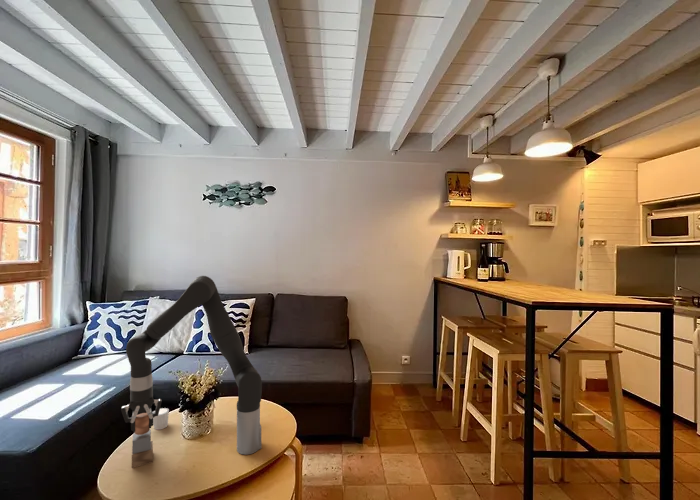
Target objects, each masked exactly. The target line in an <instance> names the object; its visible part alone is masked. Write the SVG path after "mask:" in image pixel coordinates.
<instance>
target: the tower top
mask: <svg viewBox="0 0 700 500" xmlns="http://www.w3.org/2000/svg"><path fill="white" fill-rule="evenodd" d="M151 434H152V430H151V429H150V430H149V432H147V433H145V434H142V435H136V434H135V432H133V434H132V444H131V447H132V446H133V454H135V453H139V452H143V451H147V450H151V441H152V440H151V439H152V438H151V436H152V435H151Z"/></svg>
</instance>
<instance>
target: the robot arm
mask: <svg viewBox="0 0 700 500" xmlns="http://www.w3.org/2000/svg"><path fill="white" fill-rule="evenodd" d="M200 306H201V307H202V308H203V309H204V312H205V314H206V319H207V324H208V328H209V333H210V335H211V337H212V340H213V342H214V344H215V345H216V347H217V349H218V350H219V352H220V353H221V355H222V356H223V358H224V359H225V360H226V361H227V363H228V365H229V366H230V370H231V372H232V375H233V378H234V381H235V383H236V386H237V391H238V392H237V393H238V394H237V395H238V397H237V398H238V399H237V402H236V452H237V453H239V454H240V455H246V456H247V455H252V454H254V453H256V452H258V451H259V450H262V424H261V401H262V388H263V387H262V385H263V384H262V376H261V374H260V373H259V372H258V371H257V369H256V368H255V367H254V365H253V364H252V363H251V361H250V359H249V358H248V356H247V354H246V352H245V350H244V345H243V342H242V339H241V336H240V334H239V332H238V330H237V329H236V326H235V324H234V322H233V321H232V319H231V316H230V315H229V312H228V311H227V310H226V308H225V306H224V304H223V301H222V299H221V297H220V294H219V291H218V288H217V286H216V283H215V281H214V280H213V279H212V278H211V277H209V276H206V275H199V276H198V277H196V278H194V279H193V280H192V281H191V282H190V283H189V284H188V286H187V288H186V289H185V291H183V294H181V295H180V297H179V298H178V299H177V300H176V301H175V302H174V303H172V305H171V306H169V307H168V308H166V309H165V310H164V311H162V312H161V313H160V314H159V315H158V316H157V317H156V318H154V319H153V320H152V321H151V322H150V323H149V324H148V325H147V326H146V329H145V330H144V331H142V332H141V333H140V334H138V335H135V336H133V337H132V338H130V339H129V340H128V342H127V343H126V347H125V352H126V356H127V360H128V362H129V365H130V380H129V393H130V395H129V399H130V401H129V403H128V404H127V405H122V406H121V409H120V411H121V414H122V418H123V420H124V423H125V424H126V423H130V430H131V431H132V432H133V433H135V418H136V416H137V415H138V414H141V413H147V414H148V416H149V418H150V419H149V428H150V429H151V428H152V427H154V425H153V418H154V417H155V416H158V414H159V410H160V408H161V405H162V398H158V399H154V390H153V385H154V382H153V379H154V378H153V373H152V371H153V369H152V360H151V358H149V357H146V352H148V351H150V350H151V349H152V348H154V347H155V346H156V345H157V344H158V343H159V342H160V340H161V339H162V338H163V337H164V336H165V335H167V334H168V333H169V332H170V331H171V330H173V328H175V326H177V325H178V323H180V322H181V321H182V320H183V318H185V317H186V316H187V315H189V313H192V312H193V311H194V310H195V309H197V308H199V307H200ZM153 405H154V406H155V410H154V411H155V412H154V413H152V412H153V411H152V406H153ZM129 409H130V410H132V415H131V417H129V413H128V411H129Z"/></svg>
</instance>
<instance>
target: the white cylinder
mask: <svg viewBox="0 0 700 500" xmlns="http://www.w3.org/2000/svg"><path fill="white" fill-rule="evenodd" d="M154 412H155V410H153V411H152V413H154ZM169 413H170V409H169V408H168V407H167V408H166V407H164V408H163V407H160V410H159V414H158V416H155V417H154V418H153V429H154V430H157V431H158V430H163V429H165V428H167V427H168V426H169V425H168V424H169Z"/></svg>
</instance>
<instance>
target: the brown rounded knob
mask: <svg viewBox="0 0 700 500" xmlns="http://www.w3.org/2000/svg"><path fill="white" fill-rule="evenodd" d="M149 419H150V418H149V416H148V414H147V412H141V413H138V414H137V416H136V418H135V432H134V433H135V434H136V435H142V434H145V433H147V432H149V430H151V428H149Z"/></svg>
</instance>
